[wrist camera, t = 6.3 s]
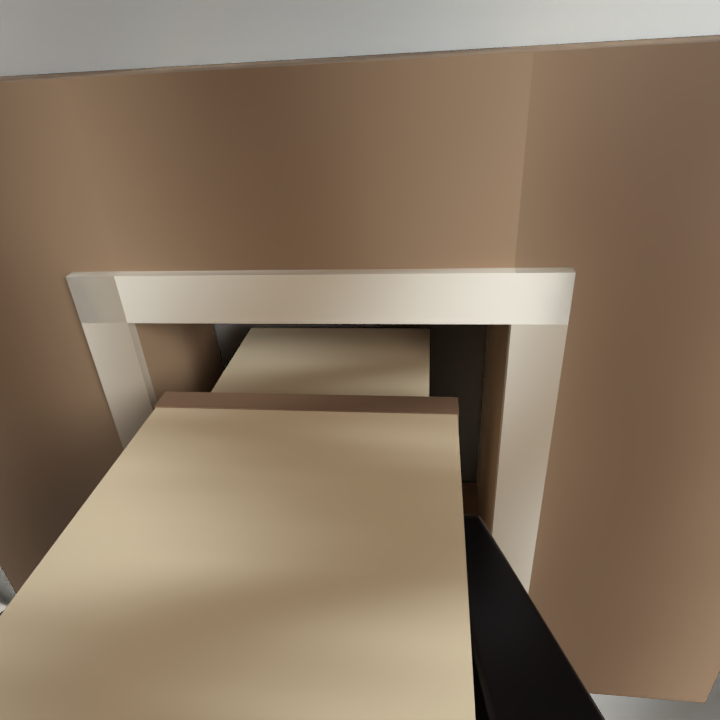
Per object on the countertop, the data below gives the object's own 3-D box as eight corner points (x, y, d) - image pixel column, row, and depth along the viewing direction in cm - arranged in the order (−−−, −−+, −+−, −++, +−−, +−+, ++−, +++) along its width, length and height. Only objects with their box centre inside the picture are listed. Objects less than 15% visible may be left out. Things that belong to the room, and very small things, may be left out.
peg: (452, 308, 11) (498, 1050, 3) (446, 484, 13) (465, 1168, 5) (228, 308, 11) (-241, 929, 3) (259, 477, 13) (19, 1084, 6)
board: (839, 28, 9) (1030, 25, 6) (658, 587, 15) (708, 712, 12) (-89, 81, 11) (-272, 97, 8) (104, 555, 17) (41, 654, 14)
